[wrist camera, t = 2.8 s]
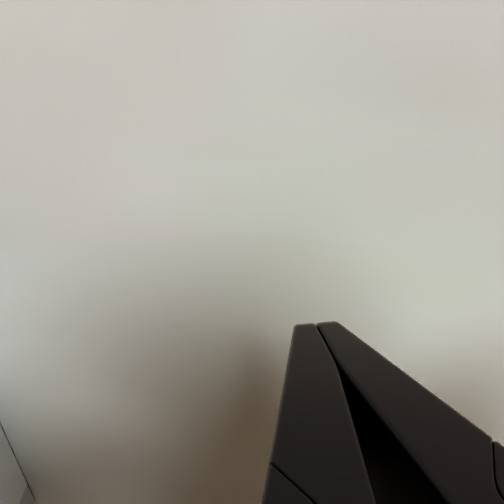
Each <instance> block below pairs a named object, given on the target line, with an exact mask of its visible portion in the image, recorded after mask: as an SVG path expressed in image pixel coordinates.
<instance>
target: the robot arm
mask: <svg viewBox="0 0 504 504" xmlns="http://www.w3.org/2000/svg"><path fill="white" fill-rule="evenodd" d="M261 504H504V446H502V445H501V444H500V443H498V442H497V441H494V442H493V441H492V438H491V437H490V436H489V435H487V434H486V433H485V432H483V431H482V430H481V429H479V428H478V427H477V426H475V425H474V424H473V423H471V422H470V421H469V420H467V419H466V418H465V417H463V416H462V415H461V414H459V413H458V412H457V411H455V410H454V409H453V408H451V407H450V406H449V405H447V404H446V403H445V402H443V401H442V400H441V399H439V398H438V397H437V396H435V395H434V394H433V393H431V392H430V391H429V390H427V389H426V388H425V387H423V386H422V385H421V384H419V383H418V382H417V381H415V380H414V379H413V378H411V377H410V376H409V375H407V374H406V373H405V372H403V371H402V370H401V369H399V368H398V367H397V366H395V365H394V364H393V363H391V362H390V361H389V360H387V359H386V358H385V357H383V356H382V355H381V354H379V353H378V352H377V351H375V350H374V349H373V348H371V347H370V346H369V345H367V344H366V343H365V342H363V341H362V340H361V339H359V338H358V337H357V336H355V335H354V334H353V333H351V332H350V331H349V330H347V329H346V328H345V327H343V326H342V325H341V324H339V323H338V322H322V323H318V324H316V325H315V324H312V323H310V324H298V325H295V326H294V329H293V335H292V340H291V346H290V351H289V357H288V362H287V368H286V373H285V379H284V384H283V390H282V395H281V401H280V406H279V411H278V417H277V422H276V428H275V433H274V439H273V444H272V450H271V455H270V461H269V468H268V470H267V476H266V481H265V487H264V492H263V497H262V501H261Z"/></svg>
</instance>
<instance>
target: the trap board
mask: <svg viewBox="0 0 504 504" xmlns="http://www.w3.org/2000/svg"><path fill="white" fill-rule="evenodd" d="M34 501H35V500H34V498H33V496H32V494H31V491H30V489H29V487H28V485H27V483H26V480H25V478H24V476H23V474H22V472H21V469H20V467H19V465H18V463H17V460H16V458H15V456H14V454H13V452H12V449H11V447H10V445H9V443H8V441H7V438H6V436H5V434H4V432H3V430H2V427H1V425H0V504H34Z"/></svg>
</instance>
